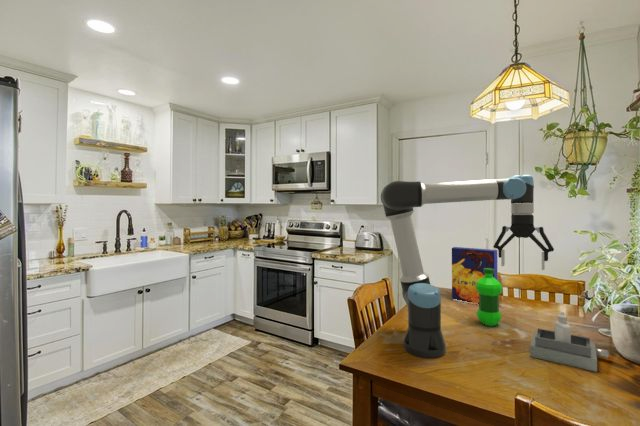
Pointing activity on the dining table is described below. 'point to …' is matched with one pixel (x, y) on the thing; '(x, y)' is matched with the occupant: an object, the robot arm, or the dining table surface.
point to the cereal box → (470, 271)
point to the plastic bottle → (489, 298)
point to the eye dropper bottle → (562, 329)
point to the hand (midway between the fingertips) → (522, 267)
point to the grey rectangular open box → (566, 350)
